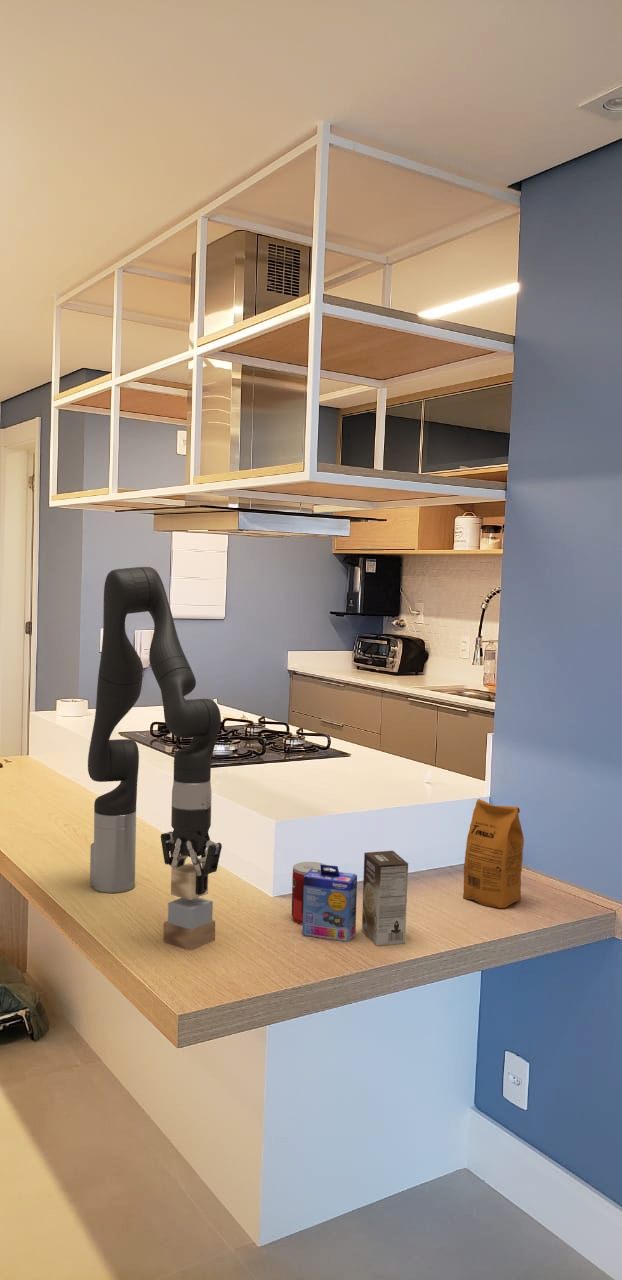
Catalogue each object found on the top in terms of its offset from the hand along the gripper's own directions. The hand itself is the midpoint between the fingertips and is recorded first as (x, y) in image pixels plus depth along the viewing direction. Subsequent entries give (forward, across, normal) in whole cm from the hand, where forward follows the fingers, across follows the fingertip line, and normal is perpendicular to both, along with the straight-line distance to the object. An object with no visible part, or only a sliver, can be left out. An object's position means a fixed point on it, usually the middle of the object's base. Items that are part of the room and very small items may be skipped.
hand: (189, 890), depth 191 cm
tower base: (+10, 0, 0) cm, 10 cm away
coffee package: (+10, +35, +61) cm, 71 cm away
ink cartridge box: (+10, +19, +20) cm, 29 cm away
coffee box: (+10, +28, +26) cm, 40 cm away
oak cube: (+1, 0, 0) cm, 1 cm away
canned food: (+10, +11, +25) cm, 29 cm away
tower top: (+6, 0, 0) cm, 6 cm away
